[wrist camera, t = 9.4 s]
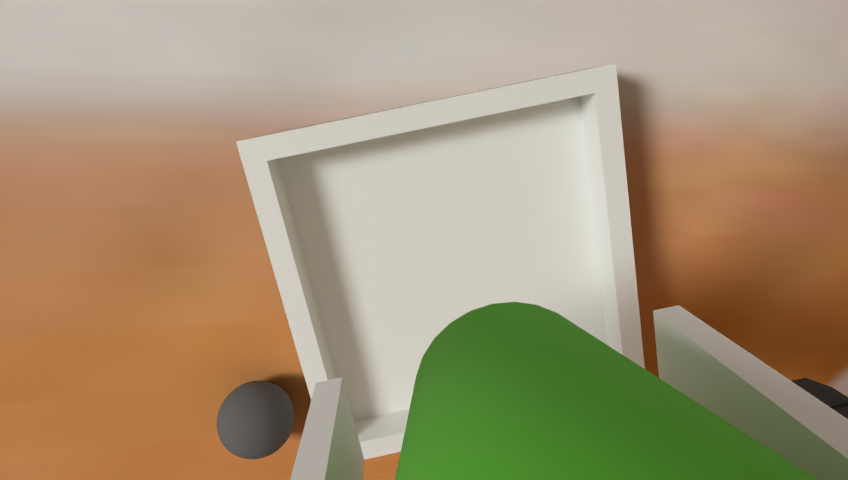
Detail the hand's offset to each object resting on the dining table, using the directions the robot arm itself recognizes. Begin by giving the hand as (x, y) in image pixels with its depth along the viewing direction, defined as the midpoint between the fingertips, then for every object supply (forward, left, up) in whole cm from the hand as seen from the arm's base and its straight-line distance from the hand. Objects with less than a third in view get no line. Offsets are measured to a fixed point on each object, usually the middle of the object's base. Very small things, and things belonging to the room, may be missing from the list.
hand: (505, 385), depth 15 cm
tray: (0, 0, -11) cm, 11 cm away
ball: (+5, -11, -11) cm, 17 cm away
